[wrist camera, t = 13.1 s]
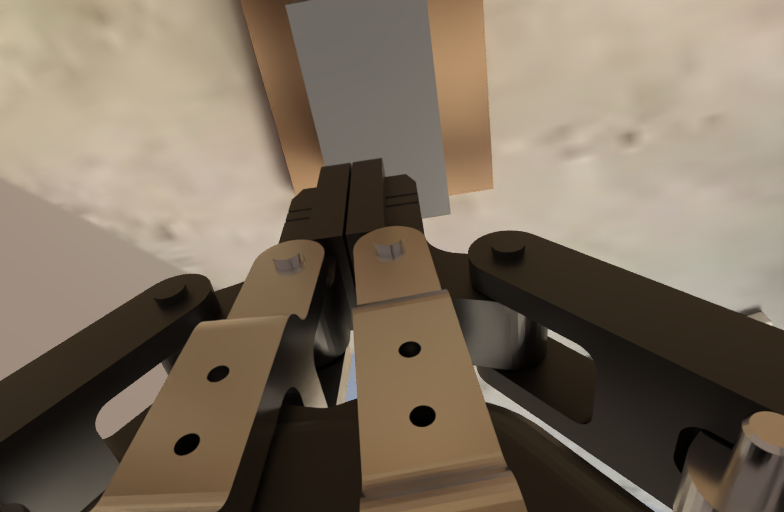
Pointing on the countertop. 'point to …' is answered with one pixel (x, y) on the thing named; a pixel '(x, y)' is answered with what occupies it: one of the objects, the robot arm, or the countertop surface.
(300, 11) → the block
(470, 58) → the board
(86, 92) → the countertop surface
